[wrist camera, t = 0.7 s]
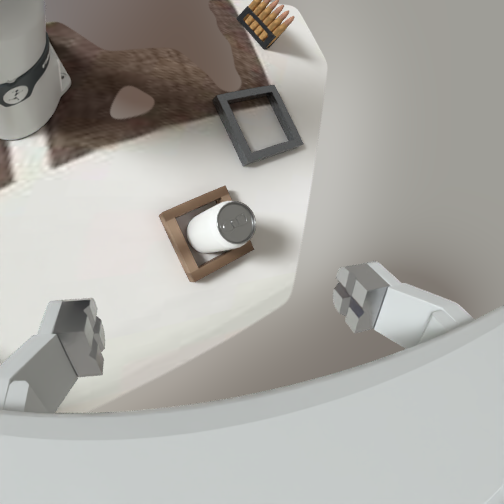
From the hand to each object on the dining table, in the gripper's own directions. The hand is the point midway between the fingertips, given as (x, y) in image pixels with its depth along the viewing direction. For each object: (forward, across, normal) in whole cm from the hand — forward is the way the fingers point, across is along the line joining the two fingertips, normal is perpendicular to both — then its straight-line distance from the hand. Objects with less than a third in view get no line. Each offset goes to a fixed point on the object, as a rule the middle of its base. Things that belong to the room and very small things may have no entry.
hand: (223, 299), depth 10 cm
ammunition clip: (+65, -19, -21) cm, 71 cm away
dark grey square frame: (+52, -17, 0) cm, 54 cm away
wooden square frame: (+38, -5, +16) cm, 42 cm away
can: (+38, -4, +16) cm, 42 cm away
